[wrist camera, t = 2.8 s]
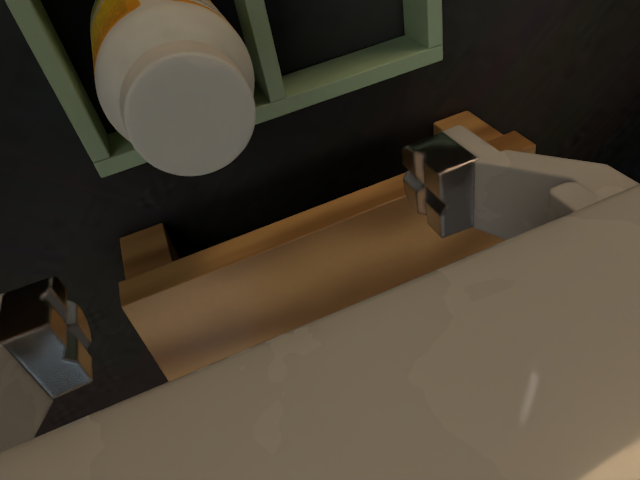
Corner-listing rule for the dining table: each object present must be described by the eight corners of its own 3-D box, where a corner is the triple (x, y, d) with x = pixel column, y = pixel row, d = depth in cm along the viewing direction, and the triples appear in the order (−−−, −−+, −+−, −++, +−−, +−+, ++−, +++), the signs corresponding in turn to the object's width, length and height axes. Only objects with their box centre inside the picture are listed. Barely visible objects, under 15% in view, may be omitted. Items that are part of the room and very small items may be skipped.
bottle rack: (-13, -56, 19) (-21, -45, 17) (408, -166, 22) (439, -166, 20) (98, 153, 25) (101, 178, 23) (418, 45, 28) (443, 59, 26)
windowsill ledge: (111, 232, 28) (125, 346, 22) (470, 101, 32) (569, 166, 25) (177, 345, 34) (202, 458, 28) (468, 226, 38) (546, 301, 32)
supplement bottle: (200, -48, 22) (266, 8, 15) (226, 76, 25) (290, 170, 18) (66, -24, 21) (68, 49, 14) (113, 103, 24) (134, 214, 17)
